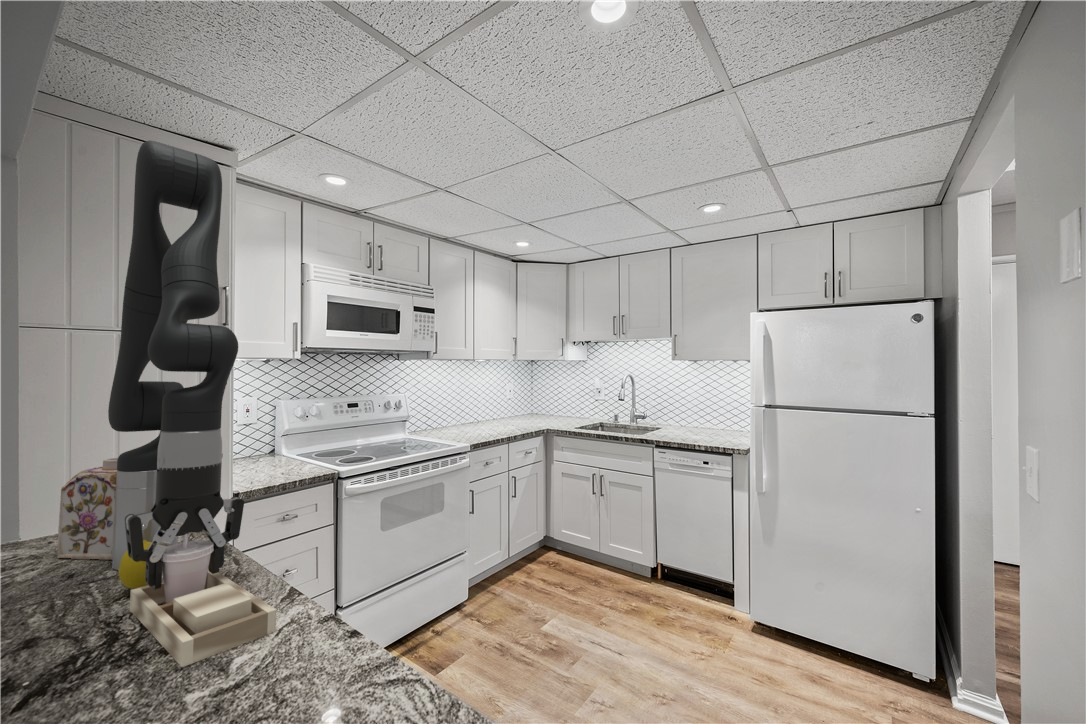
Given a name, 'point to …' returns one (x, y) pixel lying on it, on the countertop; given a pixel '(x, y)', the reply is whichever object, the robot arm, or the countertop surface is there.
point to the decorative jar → (88, 513)
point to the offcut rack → (205, 642)
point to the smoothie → (185, 567)
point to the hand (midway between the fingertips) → (185, 579)
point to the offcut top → (211, 607)
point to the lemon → (133, 570)
